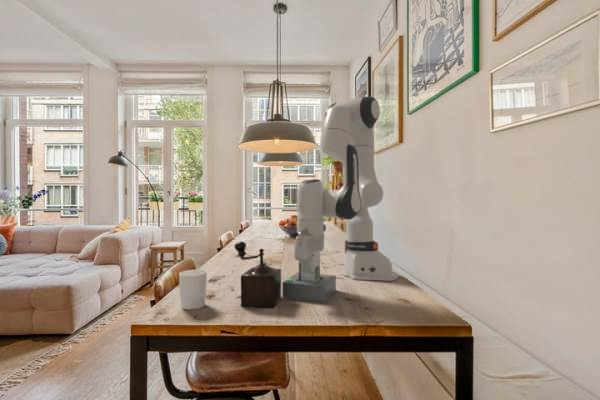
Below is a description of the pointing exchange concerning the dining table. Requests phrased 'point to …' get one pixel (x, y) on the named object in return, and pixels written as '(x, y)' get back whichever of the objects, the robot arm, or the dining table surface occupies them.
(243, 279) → the manual coffee grinder
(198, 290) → the white cup
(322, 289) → the port block
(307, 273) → the syrup box
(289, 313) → the dining table surface
